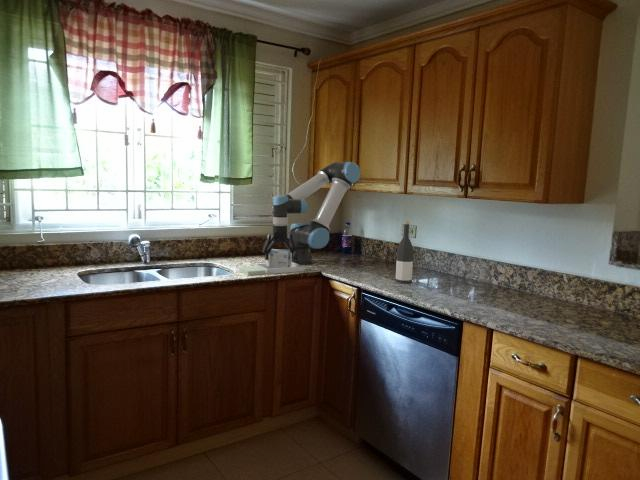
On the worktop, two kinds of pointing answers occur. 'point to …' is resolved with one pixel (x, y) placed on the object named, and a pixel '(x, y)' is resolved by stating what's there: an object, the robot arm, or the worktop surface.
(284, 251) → the light bulb box
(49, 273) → the worktop surface
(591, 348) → the worktop surface
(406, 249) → the wine bottle
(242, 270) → the board
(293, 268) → the tray
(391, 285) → the worktop surface
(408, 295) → the worktop surface
